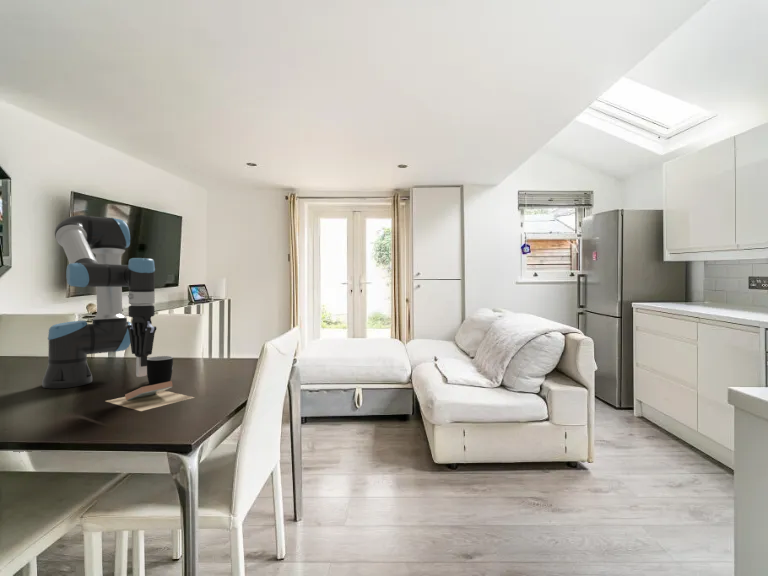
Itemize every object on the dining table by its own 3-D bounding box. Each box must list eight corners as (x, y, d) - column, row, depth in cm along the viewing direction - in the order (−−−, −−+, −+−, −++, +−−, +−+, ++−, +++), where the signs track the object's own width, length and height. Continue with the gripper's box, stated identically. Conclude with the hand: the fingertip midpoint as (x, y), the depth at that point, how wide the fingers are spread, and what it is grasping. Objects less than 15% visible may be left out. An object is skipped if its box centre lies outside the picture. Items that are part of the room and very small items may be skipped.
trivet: (104, 403, 136) (104, 401, 136) (158, 391, 152) (158, 389, 152) (140, 413, 126) (140, 411, 126) (194, 399, 142) (194, 397, 142)
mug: (176, 384, 161) (176, 358, 161) (151, 389, 155) (151, 361, 155) (164, 379, 170) (164, 354, 170) (139, 383, 163) (140, 356, 163)
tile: (124, 394, 138) (141, 387, 133) (154, 388, 146) (171, 380, 142) (126, 400, 137) (143, 393, 133) (156, 393, 146) (172, 386, 141)
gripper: (119, 304, 142) (119, 375, 142) (141, 305, 135) (141, 380, 135) (141, 303, 148) (141, 371, 148) (164, 305, 141) (164, 376, 142)
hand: (141, 375), depth 142 cm, fingers closed
